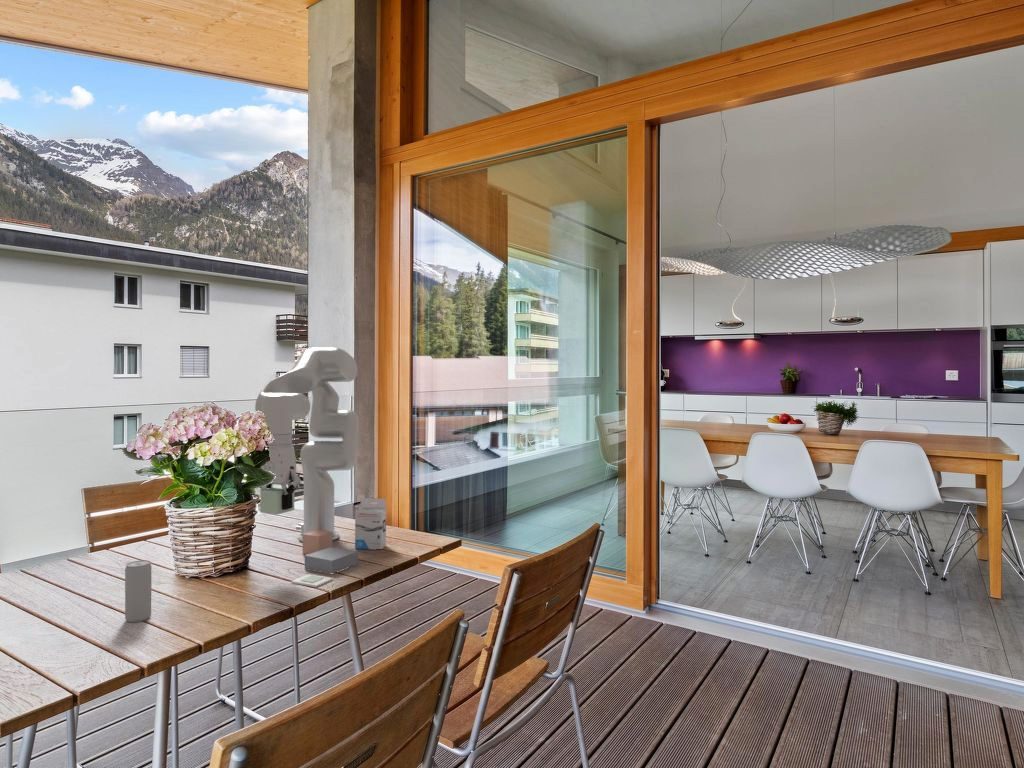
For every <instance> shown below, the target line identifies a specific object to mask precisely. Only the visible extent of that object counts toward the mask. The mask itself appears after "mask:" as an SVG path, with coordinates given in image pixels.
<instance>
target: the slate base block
mask: <svg viewBox="0 0 1024 768" xmlns="http://www.w3.org/2000/svg"><path fill="white" fill-rule="evenodd" d="M355 564H358V565H359V551H358V550H353V549H349V548H348V549H347V548H341V547H335V546H332V547H329V548H326V549H323V550H320V551H317V552H314V553H311V554H308V555H304V570H307V569H310V570H309V571H312V570H316V571H315V572H317V571H321V572H320V573H322V572H326V573H325V574H327V573H334V572H337V571H340V570H342V569H345V568H347V567H350V566H352V567H354V566H353V565H355ZM355 566H356V565H355ZM350 568H351V567H350ZM347 569H348V568H347ZM345 570H346V569H345ZM342 571H343V570H342ZM340 572H341V571H340ZM337 573H338V572H337ZM334 574H335V573H334Z"/></svg>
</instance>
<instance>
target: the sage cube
mask: <svg viewBox="0 0 1024 768" xmlns="http://www.w3.org/2000/svg"><path fill="white" fill-rule="evenodd" d="M287 488H288V486H287ZM259 492H260V493H259V495H260V496H259V497H260V498H261V501H260V500H259V501H260V504H259V506H260V511H259V512H260V513H263V514H270V515H277V516H278V515H281V514H284V513H288V512H292V511H295V492H294V493H292V508H290V509H286V510H282V495H284V493H283V490H282V486H281V485H279V486H278V485H277V486H273V487H272V488H267V489H262V490H261V489H260V491H259Z"/></svg>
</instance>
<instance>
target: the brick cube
mask: <svg viewBox="0 0 1024 768" xmlns="http://www.w3.org/2000/svg"><path fill="white" fill-rule="evenodd" d="M329 547H333V540H332V532H331V531H323V530H314V531H311V532H308V533H305V534H303V542H302V555H304V554H311V553H314V552H317V551H320V550H323V549H326V548H329Z"/></svg>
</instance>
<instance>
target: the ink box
mask: <svg viewBox="0 0 1024 768" xmlns="http://www.w3.org/2000/svg"><path fill="white" fill-rule="evenodd" d="M386 500H387V499H386V498H375V497H373V498H372V497H368V498H367V497H366V498H365V497H362V498H360V507H359V509H356V510H355V512H354V514H355V515H354V516H355V518H354V527H355V529H354V530H355V531H354V548H355V550H376V549H382V550H383V549H384V548H385V547H386V545H387V506H386V505H387V501H386ZM372 502H374V503H372Z"/></svg>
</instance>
